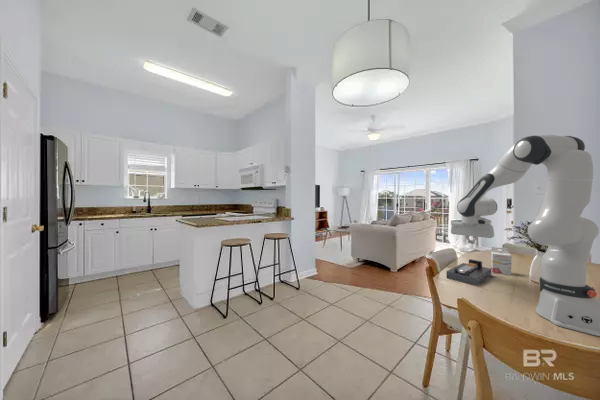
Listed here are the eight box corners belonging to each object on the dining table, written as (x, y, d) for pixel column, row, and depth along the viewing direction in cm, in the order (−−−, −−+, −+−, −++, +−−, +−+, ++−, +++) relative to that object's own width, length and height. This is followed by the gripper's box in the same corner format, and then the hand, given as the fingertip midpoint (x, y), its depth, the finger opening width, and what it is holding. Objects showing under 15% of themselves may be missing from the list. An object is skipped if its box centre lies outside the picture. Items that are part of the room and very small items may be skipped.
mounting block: (491, 275, 129) (491, 262, 129) (476, 285, 115) (476, 271, 115) (463, 269, 141) (463, 257, 140) (446, 278, 127) (446, 265, 127)
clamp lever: (478, 267, 131) (478, 263, 131) (465, 274, 120) (465, 270, 120) (470, 265, 134) (470, 262, 134) (456, 272, 123) (456, 268, 123)
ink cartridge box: (492, 272, 133) (492, 248, 133) (491, 270, 138) (490, 246, 137) (511, 275, 129) (511, 250, 128) (509, 272, 133) (509, 248, 133)
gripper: (448, 219, 136) (449, 241, 136) (491, 221, 119) (491, 247, 119) (453, 218, 140) (453, 240, 140) (494, 220, 123) (495, 245, 123)
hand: (471, 243), depth 129 cm, fingers closed
